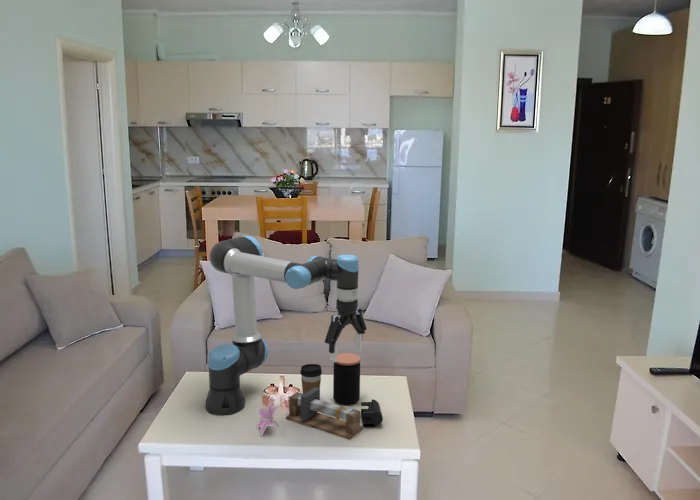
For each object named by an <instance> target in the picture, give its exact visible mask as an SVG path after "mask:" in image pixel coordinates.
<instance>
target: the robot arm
mask: <svg viewBox="0 0 700 500" xmlns="http://www.w3.org/2000/svg"><path fill="white" fill-rule="evenodd" d="M209 252H210V253H209V262H210V264H211V266H212V267H213V269H214V270H215V271H217V272H220V273H224V274H228V275H230V276H231V282H232V285H231V286H232V299H233V310H234V311H233V313H234V327H235V329H234V330H235V334H234V335H233V337H232V339H231V340H232V341H231V342H232V344H229V343H226V344H223V345H222V344H221V345H218V346H215V347H214V348H213V349H211V350H210V352H209V353H208V360H207V366H208V382H209V383H208V384H209V389H208V392H207V396H206V400H205V402H204V403H205V410H206V411H207V412H208V413H210V414H212V415H216V416H217V415H218V416H229V415H234V414H237V413H238V412H240V411H242V410H243V409H244V408H245V405H246V398H245V395H244V393H243V391H242V388H241V376H242V375H244V374H246V373H248V372H250V371H252V370H254V369H257V368H260V366H261V365H263V364H265V362H266V360H267V359H268V356H269V347H268V345H267V343H266V341H265V339H263V338H262V334H260V333H259V332H258V321H257V320H258V319H257V306H256V291H255V290H256V287H255V277H256V278H261V279H265V280H271V281H276V282H280V283H286V284H287V286H289V287H290V289H294V290H299V289H303V288H306V287H308V286H310V285H313V284H315V283H318V282H321V281H324V280H330V281H335V282H336V295H335V296H336V302H335V303H336V310H337V315H334V314H333V315H331V319H330V323H329V327H328V330H327V332H326V333H327V334H326V336H325V338H324V339H325V340H324V343H325V344H328V352H329V361H331V362H333V363H334V362H337V354H338V343H337V341H338V339H339V337H340V336H341V334H342V331H343V330H344V329H345V328H346V326H348V325H351V326H352V327H353V329H354V330H355V331H356V332H354V345H353V346H354V351H357V352H362V346H363V345H362V341H363V335H365V334H366V331H367V329H368V328H367V325H366V323H365V320H364V316H363V312H362V308H359V307H358V305H359V304H358V303H359V302H358V298H359V297H358V296H359V271H360V265H359V263H360V262H359V257H357V256H356V255H354V254H341V255H338V256H337V258H336V259H335V258H330V257H329V258H328V257H325V256H322V255H321V256H320V255H317V256H316V255H312V256H310V257H309V259H307V260H306V262H304V263H298V262H293V261H288V260H284V259H280V258H279V259H277V258H273V257H267V256H263V249H262V246H261V244H260V242H259V241H258V240H257V239H256V238H255V237H254V236H250V235H244V236H243V235H242V236H237V237H234V238H230V239H226V240H225V239H224V240H221V241H219V242H217V243H215V244H214V245H213V246H212V248H211V250H210V251H209Z"/></svg>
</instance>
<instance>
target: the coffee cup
mask: <svg viewBox="0 0 700 500" xmlns="http://www.w3.org/2000/svg"><path fill="white" fill-rule="evenodd" d="M322 372H323V370H322V366H321V365H320V364H318V363H308V364H306V363H305V364H304V365H302V366H301V367H300V372H299V373H300V375H301V379H300V380H301V387H302V390H301V391H302V394H305V393H306V392H308V391H309V390H311V389H313V388H314V387H316V388H319V389H320V390H321V380H322V379H321V378H322Z"/></svg>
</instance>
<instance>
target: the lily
mask: <svg viewBox="0 0 700 500" xmlns="http://www.w3.org/2000/svg"><path fill="white" fill-rule="evenodd" d="M278 408H279V405H275V406H273V401H272V400H271V401H270V402H269V404H268V406H267V408H259V409H258V416H259V418H260V421H259V422H258V423H257V426H256V429H259V428H260V430H259V431H260V437H263V435H264V433H265V431H266V428H267V427H268V426H270V427H274V426H275V424H276V426H277V427H280V426H279V424H278V423H277V422H276V421H275V420H274V415H275V413H276V412H277V410H278Z"/></svg>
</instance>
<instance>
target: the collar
mask: <svg viewBox="0 0 700 500" xmlns="http://www.w3.org/2000/svg"><path fill="white" fill-rule="evenodd" d="M302 394H303V393H302ZM312 399H317V400H320V401H321V388H320V389H319V388H316V387H314V388H313V389H311V390H309V391H308V392H306V393H305V394H303V395H302V396H301V419H303V420H308V419H309V418H310V417H312V416H313V415H314V414H316V413H317V411H313V410H310V401H311V400H312Z"/></svg>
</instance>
